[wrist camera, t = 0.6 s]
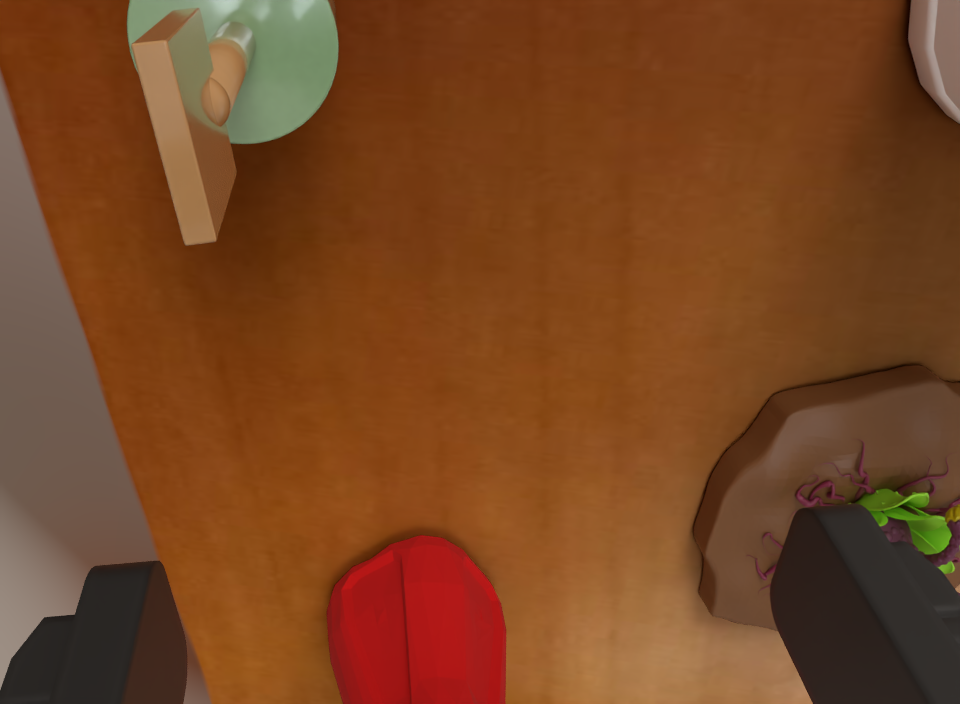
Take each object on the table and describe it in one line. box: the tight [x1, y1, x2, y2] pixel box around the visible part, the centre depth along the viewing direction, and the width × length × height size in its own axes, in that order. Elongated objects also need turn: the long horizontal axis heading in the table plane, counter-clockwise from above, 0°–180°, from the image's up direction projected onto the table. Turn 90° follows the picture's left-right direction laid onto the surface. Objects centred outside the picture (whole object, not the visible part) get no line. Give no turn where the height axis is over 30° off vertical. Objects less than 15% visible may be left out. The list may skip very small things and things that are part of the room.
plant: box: [693, 365, 960, 631], centre depth 50 cm, size 20×20×11 cm
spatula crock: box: [127, 0, 339, 246], centre depth 25 cm, size 6×6×24 cm
